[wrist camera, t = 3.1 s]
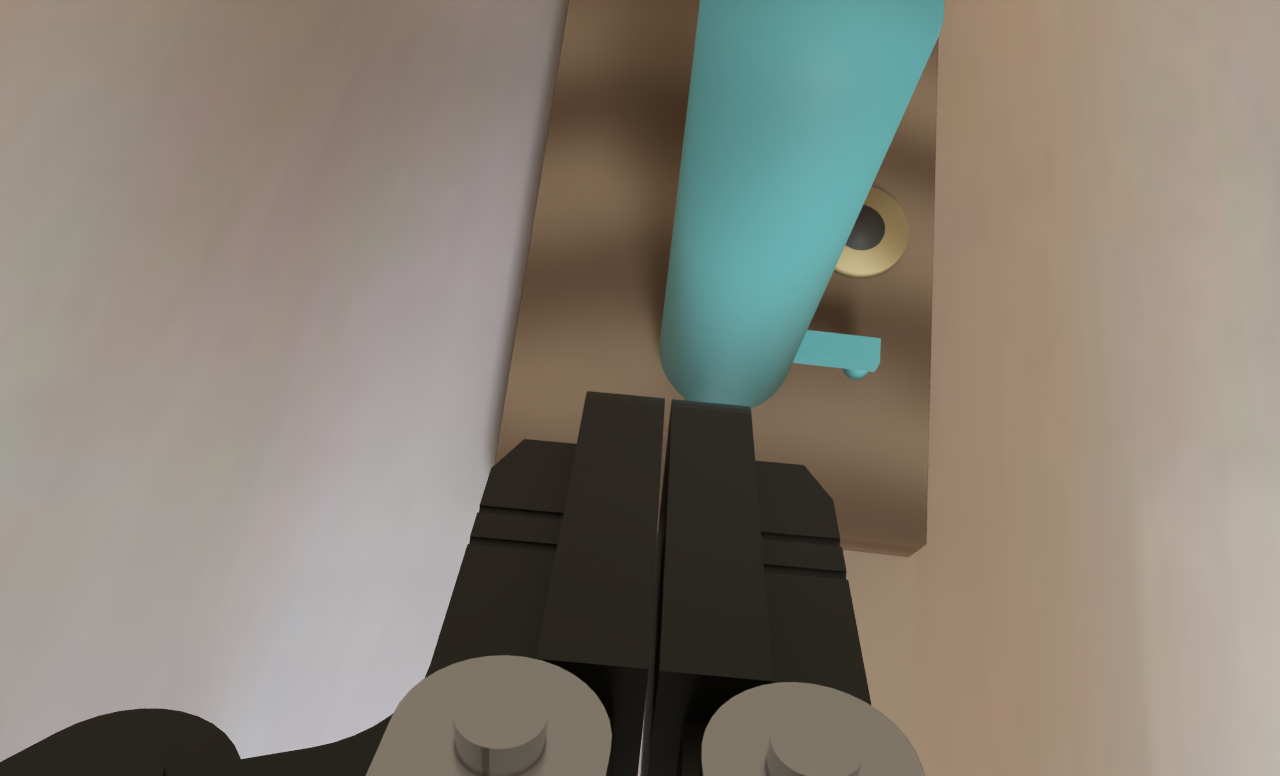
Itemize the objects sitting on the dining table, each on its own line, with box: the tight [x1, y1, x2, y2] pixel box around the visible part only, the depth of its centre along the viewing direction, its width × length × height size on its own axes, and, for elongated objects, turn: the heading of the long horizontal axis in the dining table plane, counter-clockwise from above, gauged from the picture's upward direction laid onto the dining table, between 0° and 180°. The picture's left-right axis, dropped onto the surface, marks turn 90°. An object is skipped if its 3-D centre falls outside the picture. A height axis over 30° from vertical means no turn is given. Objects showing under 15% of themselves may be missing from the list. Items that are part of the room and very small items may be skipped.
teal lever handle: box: [659, 0, 944, 408], centre depth 26 cm, size 4×6×16 cm, turn 84°
